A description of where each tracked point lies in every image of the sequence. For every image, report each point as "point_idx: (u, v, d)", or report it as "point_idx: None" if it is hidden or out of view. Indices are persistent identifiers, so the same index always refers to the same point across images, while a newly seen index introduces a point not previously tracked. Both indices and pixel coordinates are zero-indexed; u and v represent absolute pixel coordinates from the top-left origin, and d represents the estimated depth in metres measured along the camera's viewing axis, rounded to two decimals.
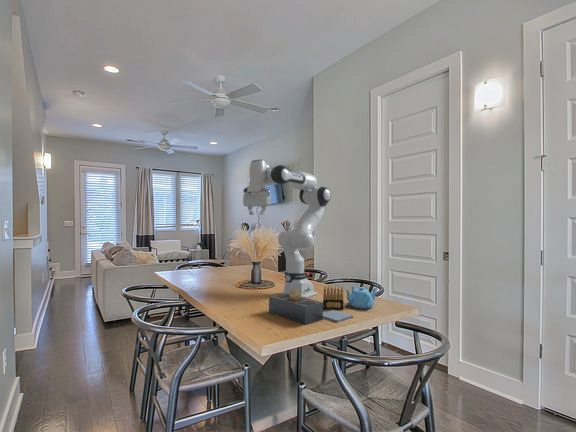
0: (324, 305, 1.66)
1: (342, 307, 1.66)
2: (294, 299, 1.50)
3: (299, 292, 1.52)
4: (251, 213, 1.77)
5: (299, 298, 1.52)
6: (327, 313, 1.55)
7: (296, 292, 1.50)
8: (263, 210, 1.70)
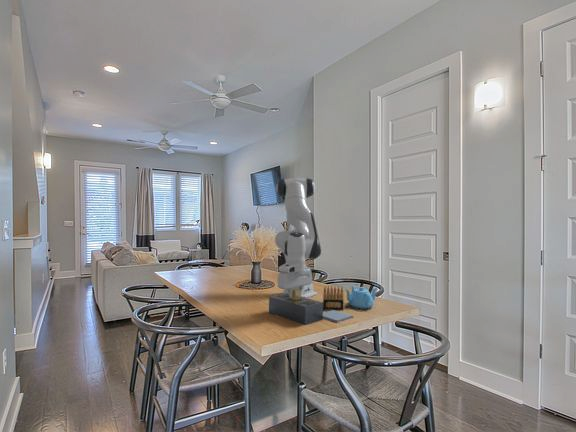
0: (324, 305, 1.66)
1: (342, 307, 1.66)
2: (294, 299, 1.50)
3: (299, 292, 1.52)
4: None
5: (299, 298, 1.52)
6: (327, 313, 1.55)
7: (296, 292, 1.50)
8: None
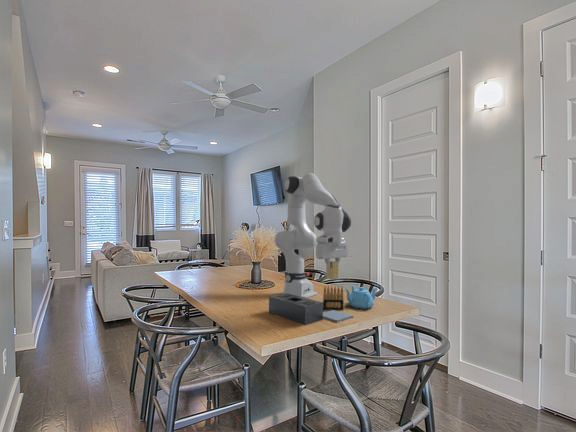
0: (324, 305, 1.66)
1: (342, 307, 1.66)
2: (332, 270, 1.51)
3: (336, 264, 1.52)
4: None
5: (336, 269, 1.52)
6: (327, 313, 1.55)
7: (333, 263, 1.51)
8: None
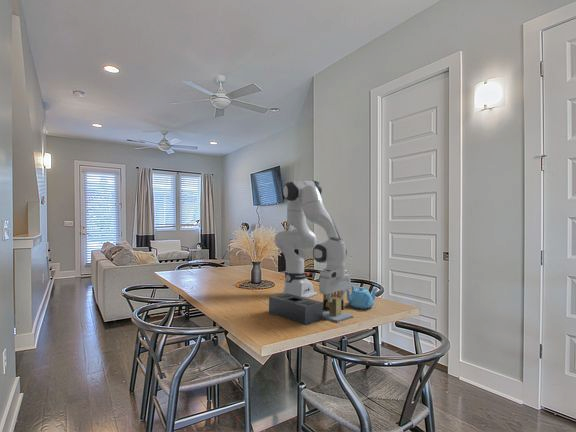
0: (324, 305, 1.66)
1: (342, 307, 1.66)
2: (335, 307, 1.51)
3: (339, 301, 1.52)
4: (331, 300, 1.51)
5: (339, 306, 1.52)
6: (327, 313, 1.55)
7: (336, 300, 1.51)
8: None
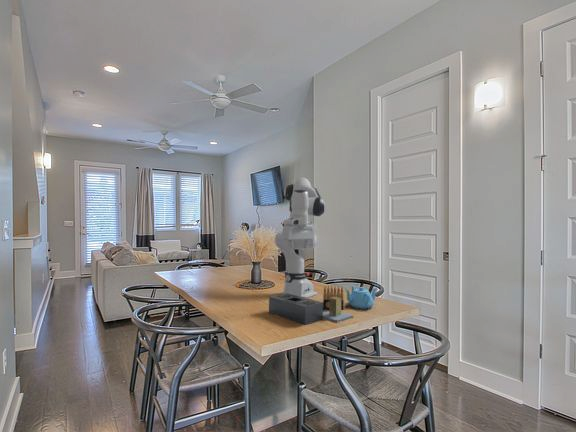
0: (324, 305, 1.66)
1: (342, 307, 1.66)
2: (335, 307, 1.51)
3: (339, 301, 1.52)
4: None
5: (339, 306, 1.52)
6: (327, 313, 1.55)
7: (336, 300, 1.51)
8: None
